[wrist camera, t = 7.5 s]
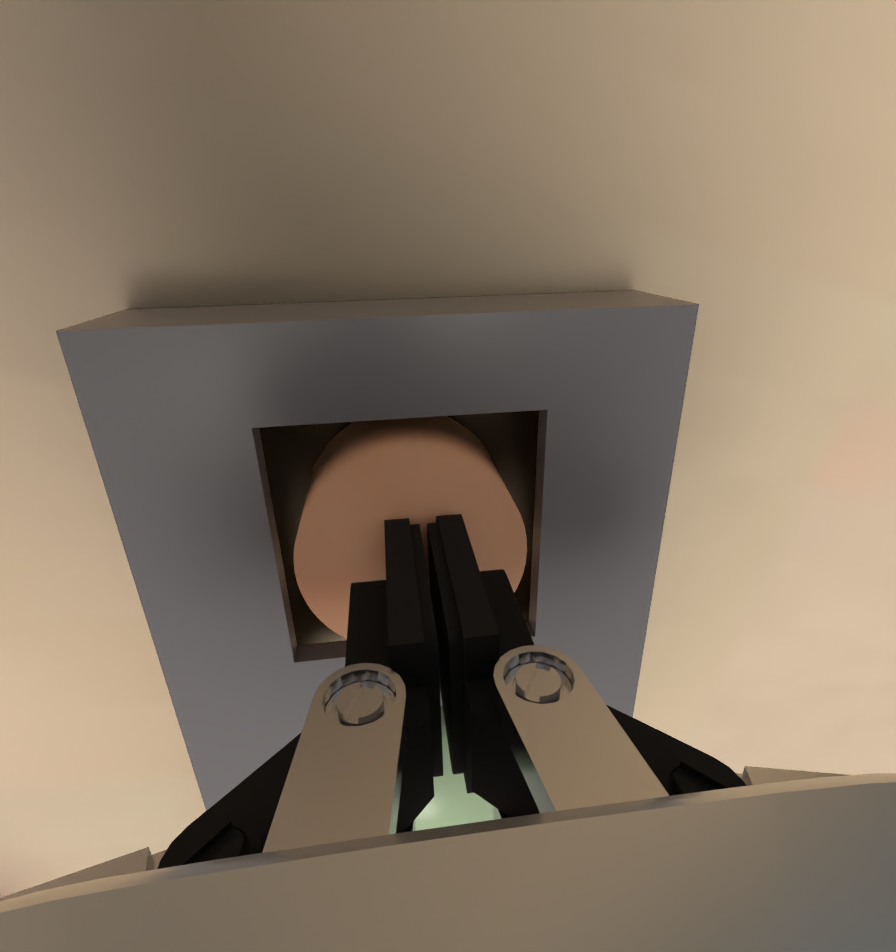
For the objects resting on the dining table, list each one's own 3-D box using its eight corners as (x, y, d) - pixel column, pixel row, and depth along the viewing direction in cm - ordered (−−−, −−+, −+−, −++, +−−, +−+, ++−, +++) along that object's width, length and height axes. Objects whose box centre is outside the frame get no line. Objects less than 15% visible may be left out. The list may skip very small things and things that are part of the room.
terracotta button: (296, 414, 13) (276, 462, 10) (499, 402, 14) (531, 444, 11) (321, 586, 15) (309, 664, 12) (496, 569, 16) (523, 640, 13)
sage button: (330, 690, 16) (322, 786, 13) (501, 670, 16) (528, 759, 13) (347, 805, 18) (343, 909, 15) (498, 784, 18) (521, 881, 15)
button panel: (126, 309, 12) (56, 331, 10) (632, 290, 14) (698, 303, 11) (290, 947, 23) (279, 1043, 20) (564, 902, 24) (589, 986, 22)
